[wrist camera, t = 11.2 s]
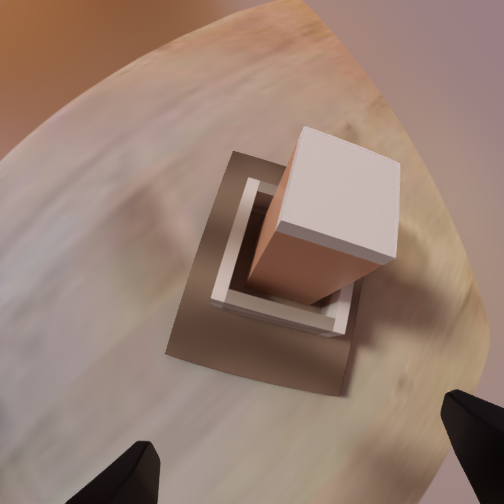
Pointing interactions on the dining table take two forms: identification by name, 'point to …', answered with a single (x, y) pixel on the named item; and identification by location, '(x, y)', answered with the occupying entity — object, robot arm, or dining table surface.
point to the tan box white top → (326, 220)
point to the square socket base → (257, 299)
